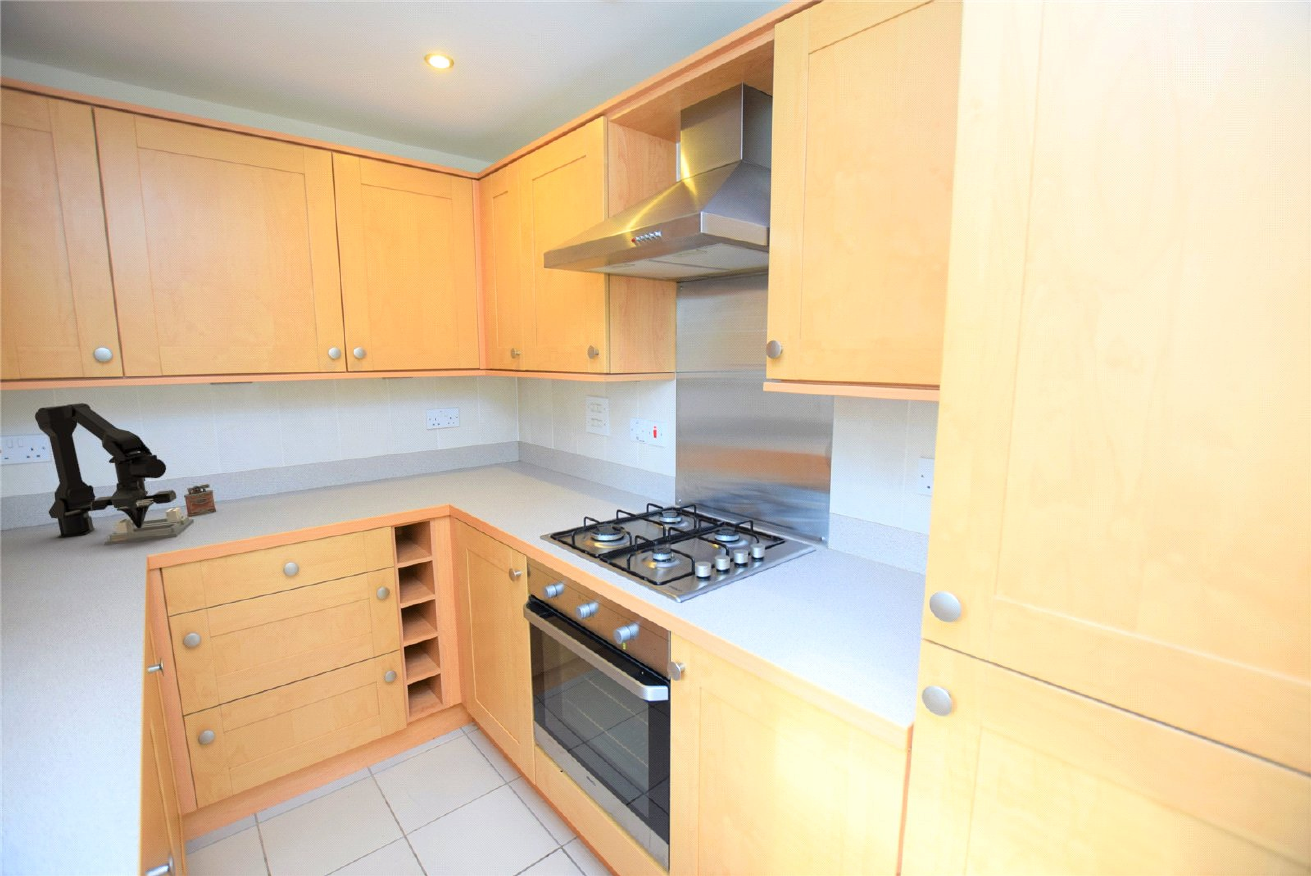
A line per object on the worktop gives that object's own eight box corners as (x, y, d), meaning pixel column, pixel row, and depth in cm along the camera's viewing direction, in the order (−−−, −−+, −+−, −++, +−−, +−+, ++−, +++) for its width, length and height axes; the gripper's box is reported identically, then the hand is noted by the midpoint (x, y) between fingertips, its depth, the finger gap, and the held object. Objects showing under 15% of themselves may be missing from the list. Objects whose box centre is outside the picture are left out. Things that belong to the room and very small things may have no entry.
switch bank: (104, 545, 171) (103, 537, 171) (128, 529, 186) (127, 521, 185) (176, 536, 178) (175, 528, 177) (194, 521, 192) (192, 514, 192)
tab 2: (168, 525, 185) (165, 511, 184) (172, 522, 188) (170, 507, 188) (177, 524, 186) (175, 510, 185) (182, 520, 189) (180, 506, 188)
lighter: (189, 517, 197) (184, 488, 195) (186, 515, 199) (181, 487, 197) (217, 511, 203) (213, 483, 202) (214, 510, 205) (209, 482, 204)
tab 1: (117, 538, 174) (114, 522, 173) (123, 534, 177) (120, 519, 177) (128, 536, 175) (125, 521, 174) (133, 532, 178) (131, 517, 178)
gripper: (75, 487, 164) (86, 540, 166) (158, 479, 170) (167, 531, 173) (95, 478, 174) (105, 529, 176) (172, 471, 181) (181, 520, 183)
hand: (139, 527), depth 177 cm, fingers closed
